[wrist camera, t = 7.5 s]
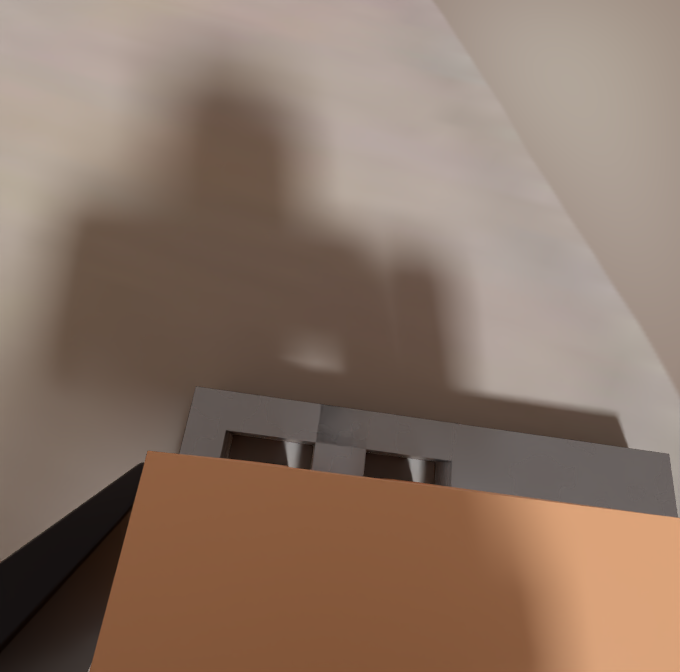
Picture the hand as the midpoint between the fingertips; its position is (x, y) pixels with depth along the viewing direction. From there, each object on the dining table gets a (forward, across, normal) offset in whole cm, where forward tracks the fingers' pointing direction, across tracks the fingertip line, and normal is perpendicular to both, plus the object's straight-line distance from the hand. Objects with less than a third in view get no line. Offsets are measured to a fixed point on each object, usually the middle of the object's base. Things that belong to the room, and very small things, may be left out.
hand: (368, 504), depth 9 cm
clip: (+5, 0, +7) cm, 9 cm away
